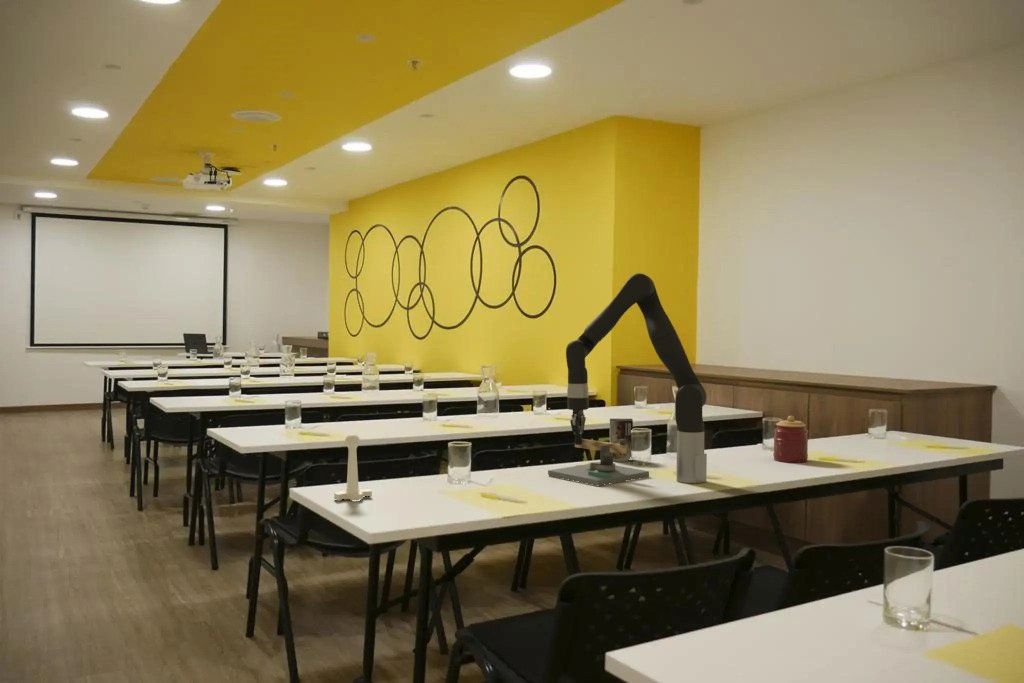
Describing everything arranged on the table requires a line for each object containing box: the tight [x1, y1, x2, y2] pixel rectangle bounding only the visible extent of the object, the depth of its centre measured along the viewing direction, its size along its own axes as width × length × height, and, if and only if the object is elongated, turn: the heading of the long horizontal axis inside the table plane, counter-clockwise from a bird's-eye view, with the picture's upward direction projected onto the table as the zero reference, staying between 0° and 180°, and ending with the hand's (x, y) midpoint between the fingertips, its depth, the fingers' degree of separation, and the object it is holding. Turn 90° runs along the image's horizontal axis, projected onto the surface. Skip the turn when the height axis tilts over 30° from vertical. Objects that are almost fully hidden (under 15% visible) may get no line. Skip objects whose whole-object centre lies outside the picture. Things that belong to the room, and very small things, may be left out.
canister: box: [773, 415, 809, 464], centre depth 335 cm, size 13×13×18 cm
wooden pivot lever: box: [574, 438, 627, 472], centre depth 302 cm, size 22×9×12 cm, turn 45°
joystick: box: [333, 433, 373, 501], centre depth 261 cm, size 11×8×20 cm
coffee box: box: [609, 418, 634, 462], centre depth 334 cm, size 9×6×16 cm
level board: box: [547, 463, 650, 486], centre depth 300 cm, size 24×26×4 cm
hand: (578, 444), depth 305 cm, fingers closed
